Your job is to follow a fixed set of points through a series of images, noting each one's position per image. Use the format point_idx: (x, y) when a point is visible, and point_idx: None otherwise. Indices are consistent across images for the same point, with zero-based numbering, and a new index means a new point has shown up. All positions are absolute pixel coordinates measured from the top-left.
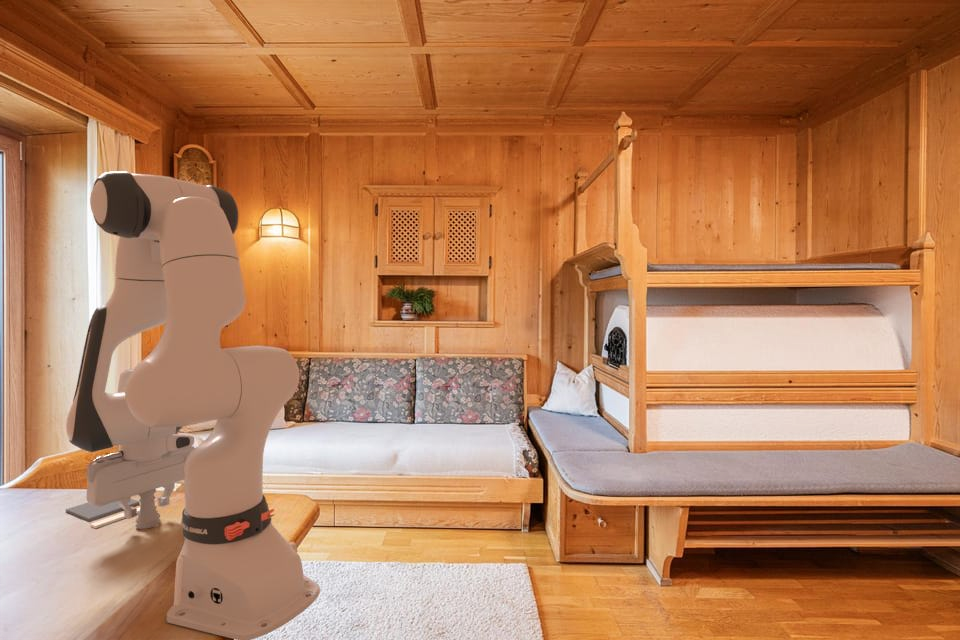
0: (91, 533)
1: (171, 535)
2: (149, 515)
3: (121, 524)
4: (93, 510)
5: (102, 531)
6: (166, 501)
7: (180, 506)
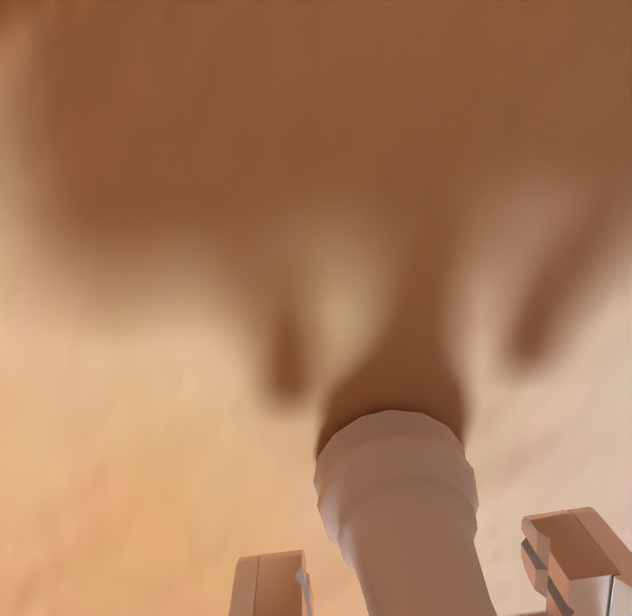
0: None
1: (368, 150)
2: (425, 484)
3: None
4: None
5: None
6: (261, 586)
7: (134, 587)
